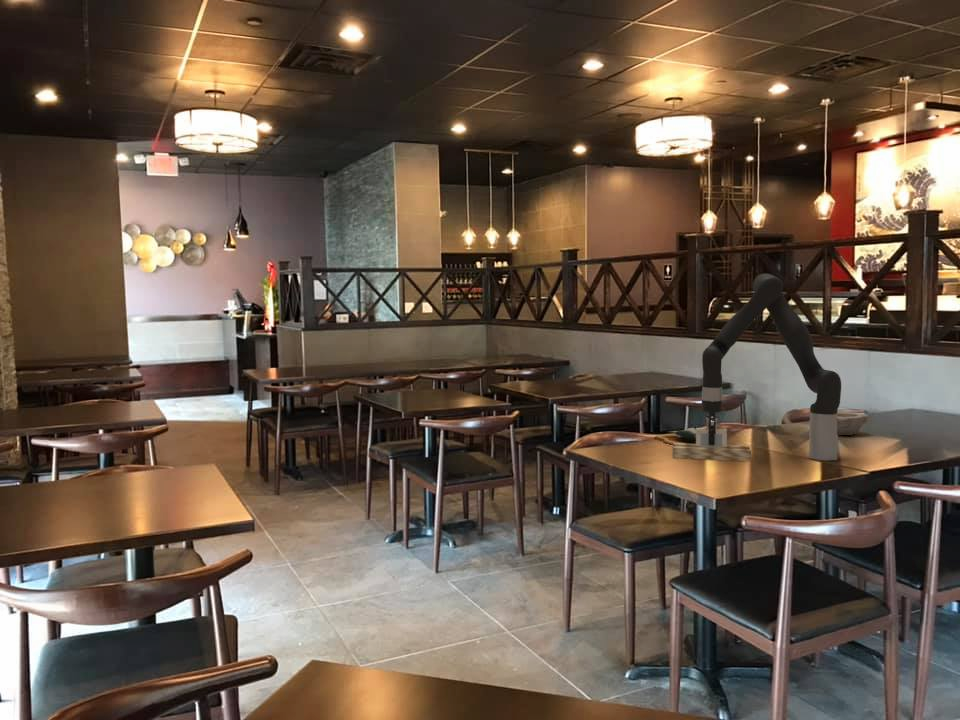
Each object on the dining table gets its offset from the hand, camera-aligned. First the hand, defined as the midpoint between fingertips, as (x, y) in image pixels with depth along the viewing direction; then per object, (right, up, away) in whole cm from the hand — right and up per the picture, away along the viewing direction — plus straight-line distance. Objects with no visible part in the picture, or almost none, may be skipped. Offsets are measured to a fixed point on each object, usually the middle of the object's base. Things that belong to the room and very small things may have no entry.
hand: (711, 443), depth 283 cm
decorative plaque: (-1, -4, +28) cm, 29 cm away
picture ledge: (0, -5, 0) cm, 5 cm away
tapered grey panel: (0, -2, 0) cm, 2 cm away
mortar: (+72, -1, +46) cm, 85 cm away
